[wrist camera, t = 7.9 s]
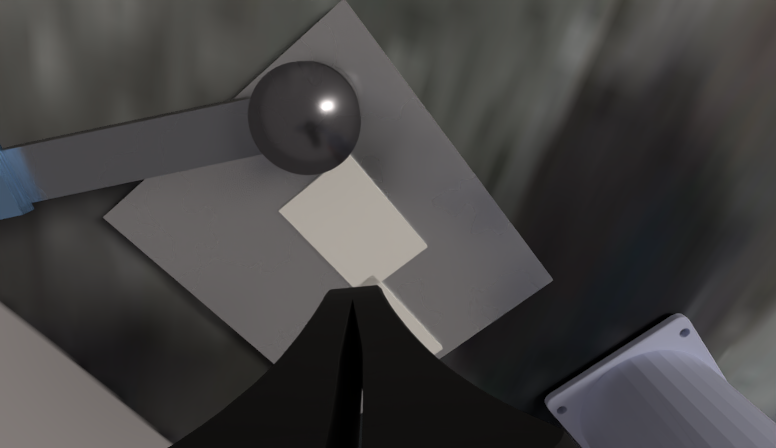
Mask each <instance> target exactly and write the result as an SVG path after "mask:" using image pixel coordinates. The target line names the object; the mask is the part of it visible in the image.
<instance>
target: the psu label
mask: <svg viewBox="0 0 776 448" xmlns="http://www.w3.org/2000/svg"><path fill="white" fill-rule="evenodd" d="M279 212H280V213H281V214H282V215H283V216H284V217H285V218H286V219H287V220H288V221H289V222H290V223H291V224H292V225H293V226H294V227H295V228H296V229H297V230H298V231H299V232H300V234H301V235H302V236H303V237H304V238H305V239H306V240H307V241H308V242H309V243H310V244H311V245H312V246H313V247H314V248H315V249H316V250H317V251H318V252H319V253H320V254H321V255H322V256H323V257H324V258H325V259H326V260H327V261H328V262H329V263H330V264H331V265H332V266H333V267H334V268H335V269H336V270H337V271H338V272H339V273H340V274H341V275H342V277H343V278H344V279H345V280H346V281H347V282H348V283H349V284H350V285H351V286H352V287H357V286H358V285H359V284H361V283H362V282H363V281H365V280H366V279H367V278H369V279H367V280H368V281H369V280H371V279H372V278H371V275H374V276H375V278H376V279H377V280H378V281H379V282H382V281H383V280H384V279H386V278H387V277H388V276H390V275H391V274H392V273H394V272H395V271H396V270H398V269H399V268H400V267H402V266H403V265H404V264H406V263H407V262H408V261H410V260H411V259H412V258H414V257H415V256H416V255H418V254H419V253H420V252H422V251H423V250H424V249H426V248H427V245H426V243H425V242H424V241H423V240H422V239H421V238H420V236H419V235H418V234H417V233H416V232H415V231H414V229H413V228H412V227H411V226H410V225H409V223H408V222H407V221H406V220H405V219H404V218H403V216H402V215H401V214H400V213H399V212H398V211H397V209H396V208H395V207H394V206H393V205H392V203H391V202H390V201H389V200H388V199H387V198H386V196H385V195H384V194H383V193H382V192H381V191H380V189H379V188H378V187H377V186H376V185H375V184H374V182H373V181H372V180H371V179H370V178H369V176H368V175H367V174H366V173H365V172H364V171H363V169H362V168H361V167H360V166H359V165H358V164H357V162H356V161H355V160H354V159H353V158H352V157H351V155H349V156H348V158H347V159H346V160H345V161H344V162H342V163H341V164H340V165H339V166H337V167H335V168H334V169H332V170H330V171H327V172H325V173H322V174H321V175H320V176H319V177H317V178H316V179H315V180H314V181H313V182H311V183H310V184H309V185H308V186H307V187H305V188H304V189H303V190H302V191H301V192H299V193H298V194H297V195H296V196H295V197H293V198H292V199H291V200H290V201H289V202H287V203H286V204H285V205H284V206H282V207H281V208H280V209H279ZM370 278H371V279H370ZM371 282H372V281H369V282H367V283H369V285H370V286H371V285H372V283H371ZM369 285H368V286H369Z"/></svg>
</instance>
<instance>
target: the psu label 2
mask: <svg viewBox="0 0 776 448" xmlns="http://www.w3.org/2000/svg"><path fill="white" fill-rule="evenodd" d="M371 278H372V279H371ZM371 278H370V279H371V280H369V281H372V282H371V283H372V285H378V286H379V287H380V288H382V291H383V293H384V295H385V297H386V299H387V300H388V302H389V303H390V305H391V306H392V308H393V309H394V311H395V312H396V313H397V315H398V316H399V317H400V319H401V320H402V321H403V322H404V324H405V325H406V326H407V327H408V328H409V330H410V331H411V332H412V333H413V334H414V335H415V336H416V337H417V338H418V339H419V341H420V342H421V343H422V344H423V345H424V346H425V347H426V348H427V349H428V350H429V351H431V352H432V353H433V354H434V355H435V354H436V353H438V352H439V351H440V350H442V349H443V348H442V346H441V345H440V344H439V343H438V342H437V341H436V339H435V338H434V337H433V336H432V335H431V334H430V333H429V332H428V331H427V330H426V329H425V328H424V327H423V326H422V325H421V323H420V322H419V321H418V320H417V319H416V318H415V317H414V316H413V315H412V314H411V313H410V312H409V311H408V310H407V309H406V308H405V306H404V305H403V304H402V303H401V302H400V301H399V300H398V299H397V298H396V297H395V296H394V295H393V294H392V293H391V292H390V290H389V289H388V288H387V287H386V286H385V285H384V284H383V283H382V282H379V281H378V280H377V279H376V278H375V276H374V275H371ZM367 279H369V278H367ZM367 279H366V280H365V281H363V282H362V283H361V284H359V285H358V286H357V287H361V286H368V285H369V283H367V282H369V281H368V280H367ZM372 285H371V286H372ZM369 286H370V285H369Z"/></svg>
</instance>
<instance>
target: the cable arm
mask: <svg viewBox="0 0 776 448" xmlns="http://www.w3.org/2000/svg"><path fill="white" fill-rule="evenodd" d="M360 128H361V114H360V108H359V102H358V96H357V93H356V90H355V88H354V86H353V84H352V82H351V81H350V79H349V78H348V77H347V76H346V75H345V73H344V72H342V71H341V70H340V69H338V68H337V67H335V66H333V65H331V64H329V63H326V62H322V61H295V62H289V63H285V64H282V65H280V66H278V67H275V68H274V69H272V70H271V71H269V72H268V73H267V74H266V75H264V76H263V77H262V79H261V80H260V81H259V82H258V84H257V85H256V87H255V88H254V90H253V92H252V95H251V96H247V97H242V98H237V99H233V100H228V101H223V102H218V103H214V104H209V105H204V106H199V107H194V108H190V109H185V110H180V111H175V112H171V113H166V114H161V115H156V116H152V117H147V118H142V119H137V120H132V121H128V122H123V123H118V124H113V125H109V126H104V127H99V128H94V129H89V130H85V131H80V132H75V133H70V134H66V135H61V136H56V137H51V138H46V139H42V140H37V141H32V142H27V143H23V144H18V145H14V146H10V147H6V148H2V147H1V145H0V219H5V218H10V217H15V216H19V215H23V214H25V213H28V212H30V211H32V210H34V207H33V205H32V203H33V202H38V201H43V200H48V199H52V198H57V197H62V196H67V195H71V194H76V193H81V192H86V191H90V190H95V189H100V188H105V187H109V186H114V185H119V184H124V183H129V182H133V181H138V180H143V179H148V178H152V177H157V176H162V175H167V174H171V173H176V172H181V171H186V170H190V169H195V168H200V167H205V166H209V165H214V164H219V163H224V162H229V161H233V160H238V159H243V158H248V157H252V156H257V155H262V154H263V155H264V156H265V157H266V158H267V159H268V160H269V161H270V162H271V163H273V164H274V165H276V166H277V167H279V168H281V169H283V170H285V171H288V172H290V173H294V174H299V175H316V174H321V173H325V172H327V171H330V170H332V169H334V168H335V167H337V166H339V165H340V164H341V163H342V162H344V161H345V160H346V159H347V158H348V156H349V155H350V154H351V152H352V151H353V149H354V147H355V146H356V143H357V141H358V138H359V134H360Z"/></svg>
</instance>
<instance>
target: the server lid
mask: <svg viewBox="0 0 776 448" xmlns="http://www.w3.org/2000/svg"><path fill="white" fill-rule="evenodd" d="M295 61H322V62H326V63H329V64H331V65H333V66H335V67H337V68H338V69H340V70H341V71H342V72H344V73H345V75H346V76H347V77H348V78H349V79H350V81H351V82H352V84H353V86H354V88H355V90H356V93H357V96H358V102H359V108H360V114H361V128H360V134H359V138H358V141H357V143H356V146H355V147H354V149H353V151H352V152H351V154H350V155H351V157H352V158H353V159H354V160H355V161H356V162H357V164H358V165H359V166H360V167H361V168H362V169H363V171H364V172H365V173H366V174H367V175H368V176H369V178H370V179H371V180H372V181H373V182H374V184H375V185H376V186H377V187H378V188H379V189H380V191H381V192H382V193H383V194H384V195H385V196H386V198H387V199H388V200H389V201H390V202H391V203H392V205H393V206H394V207H395V208H396V209H397V211H398V212H399V213H400V214H401V215H402V216H403V218H404V219H405V220H406V221H407V222H408V223H409V225H410V226H411V227H412V228H413V229H414V231H415V232H416V233H417V234H418V235H419V236H420V238H421V239H422V240H423V241H424V242H425V243H426V245H427V248H426V249H424V250H423V251H422V252H420V253H419V254H418V255H416V256H415V257H414V258H412V259H411V260H410V261H408V262H407V263H406V264H404V265H403V266H402V267H400V268H399V269H398V270H396V271H395V272H394V273H392V274H391V275H390V276H388V277H387V278H386V279H384V280H383V281H382V283H383V284H384V285H385V286H386V287H387V288H388V289H389V290H390V292H391V293H392V294H393V295H394V296H395V297H396V298H397V299H398V300H399V301H400V302H401V303H402V304H403V305H404V306H405V308H406V309H407V310H408V311H409V312H410V313H411V314H412V315H413V316H414V317H415V318H416V319H417V320H418V321H419V322H420V323H421V325H422V326H423V327H424V328H425V329H426V330H427V331H428V332H429V333H430V334H431V335H432V336H433V337H434V338H435V339H436V341H437V342H438V343H439V344H440V345H441V346H442V348H443V349H442V350H440V351H439V352H438V353H436V354H435V356H436V357H437V358H438V359H440V358H441V357H443V356H444V355H446V354H447V353H449V352H450V351H452V350H453V349H454V348H456V347H457V346H459V345H460V344H462V343H463V342H465V341H466V340H467V339H469V338H470V337H472V336H473V335H475V334H476V333H478V332H479V331H480V330H482V329H483V328H485V327H486V326H488V325H489V324H491V323H492V322H493V321H495V320H496V319H498V318H499V317H501V316H502V315H504V314H505V313H506V312H508V311H509V310H511V309H512V308H514V307H515V306H517V305H518V304H519V303H521V302H522V301H524V300H525V299H527V298H528V297H530V296H531V295H532V294H534V293H535V292H537V291H538V290H540V289H541V288H543V287H544V286H545V285H547V284H548V283H550V282H551V281H553V279H552V278H551V276H550V275H549V274H548V272H547V271H546V270H545V268H544V267H543V266H542V264H541V263H540V262H539V260H538V259H537V258H536V256H535V255H534V254H533V252H532V251H531V249H530V248H529V247H528V245H527V244H526V243H525V241H524V240H523V239H522V237H521V236H520V235H519V233H518V232H517V231H516V229H515V228H514V227H513V225H512V224H511V223H510V221H509V220H508V219H507V217H506V216H505V214H504V213H503V212H502V210H501V209H500V208H499V206H498V205H497V204H496V202H495V201H494V200H493V198H492V197H491V196H490V194H489V193H488V192H487V190H486V189H485V188H484V186H483V185H482V184H481V182H480V181H479V179H478V178H477V177H476V175H475V174H474V173H473V171H472V170H471V169H470V167H469V166H468V165H467V163H466V162H465V161H464V159H463V158H462V157H461V155H460V154H459V153H458V151H457V150H456V149H455V147H454V146H453V144H452V143H451V142H450V140H449V139H448V138H447V136H446V135H445V134H444V132H443V131H442V130H441V128H440V127H439V126H438V124H437V123H436V122H435V120H434V119H433V118H432V116H431V115H430V114H429V112H428V111H427V109H426V108H425V107H424V105H423V104H422V103H421V101H420V100H419V99H418V97H417V96H416V95H415V93H414V92H413V91H412V89H411V88H410V87H409V85H408V84H407V83H406V81H405V80H404V79H403V77H402V76H401V74H400V73H399V72H398V70H397V69H396V68H395V66H394V65H393V64H392V62H391V61H390V60H389V58H388V57H387V56H386V54H385V53H384V52H383V50H382V49H381V48H380V46H379V45H378V44H377V42H376V41H375V39H374V38H373V37H372V35H371V34H370V33H369V31H368V30H367V29H366V27H365V26H364V25H363V23H362V22H361V21H360V19H359V18H358V17H357V15H356V14H355V13H354V11H353V10H352V9H351V7H350V6H349V4H348V3H347V2H346V0H342V1H341V2H339V3H338V4H337V5H336V6H335V7H334V8H333V9H332V10H331V11H330V12H328V13H327V14H326V15H325V16H324V17H323V18H322V19H321V20H320V21H319V22H317V23H316V24H315V25H314V26H313V27H312V28H311V29H310V30H309V31H308V32H306V33H305V34H304V35H303V36H302V37H301V38H300V39H299V40H298V41H297V42H295V43H294V44H293V45H292V46H291V47H290V48H289V49H288V50H287V51H286V52H284V53H283V54H282V55H281V56H280V57H279V58H278V59H277V60H276V61H275V62H273V63H272V64H271V65H270V66H269V67H268V68H267V69H266V70H265V71H264V72H262V73H261V74H260V75H259V76H258V77H257V78H256V79H255V80H254V81H253V82H251V83H250V84H249V85H248V86H247V87H246V88H245V89H244V90H243V91H241V92H240V93H239V94H238V95H237V96H236V97H235V98H234V99H237V98H242V97H247V96H251V95H252V92H253V90H254V88H255V87H256V85H257V84H258V82H259V81H260V80H261V79H262V77H263V76H264V75H266V74H267V73H268V72H269V71H271V70H272V69H274V68H275V67H278V66H280V65H282V64H285V63H289V62H295ZM321 174H322V173H321ZM321 174H316V175H299V174H294V173H290V172H288V171H285V170H283V169H281V168H279V167H277V166H276V165H274V164H273V163H271V162H270V161H269V160H268V159H267V158H266V157H265V156H264V155H263V154H262V155H257V156H252V157H248V158H243V159H238V160H233V161H229V162H224V163H219V164H214V165H209V166H205V167H200V168H195V169H190V170H186V171H181V172H176V173H171V174H167V175H162V176H157V177H152V178H148V179H145V180H144V181H142V182H141V183H140V184H139V185H138V186H137V187H136V188H135V189H134V190H133V191H131V192H130V193H129V194H128V195H127V196H126V197H125V198H124V199H123V200H121V201H120V202H119V203H118V204H117V205H116V206H115V207H114V208H113V209H112V210H110V211H109V212H108V213H107V214H106V215H105V216H104V217H103V218H104V219H105V220H106V221H108V222H109V223H110V224H111V225H112V226H113V227H115V228H116V229H117V230H118V231H119V232H120V233H122V234H123V235H124V236H125V237H126V238H127V239H129V240H130V241H131V242H132V243H133V244H134V245H136V246H137V247H138V248H139V249H140V250H141V251H143V252H144V253H145V254H146V255H147V256H148V257H150V258H151V259H152V260H153V261H154V262H155V263H157V264H158V265H159V266H160V267H161V268H162V269H164V270H165V271H166V272H167V273H168V274H169V275H171V276H172V277H173V278H174V279H175V280H176V281H178V282H179V283H180V284H181V285H182V286H183V287H185V288H186V289H187V290H188V291H189V292H191V293H192V294H193V295H194V296H195V297H196V298H198V299H199V300H200V301H201V302H202V303H203V304H205V305H206V306H207V307H208V308H209V309H210V310H212V311H213V312H214V313H215V314H216V315H217V316H219V317H220V318H221V319H222V320H223V321H224V322H226V323H227V324H228V325H229V326H230V327H231V328H233V329H234V330H235V331H236V332H237V333H238V334H240V335H241V336H242V337H243V338H244V339H245V340H247V341H248V342H249V343H250V344H251V345H252V346H254V347H255V348H256V349H257V350H258V351H259V352H261V353H262V354H263V355H264V356H265V357H266V358H268V359H269V360H270V361H271V362H272V363H273V364H275V363H276V361H277V360H278V359H279V358H280V357H281V356H282V355H283V353H284V352H285V351H286V350H287V349H288V347H289V346H290V345H291V344H292V343H293V341H294V340H295V339H296V338H297V336H298V335H299V334H300V332H301V331H302V330H303V328H304V327H305V325H306V324H307V323H308V321H309V320H310V319H311V317H312V316H313V314H314V313H315V311H316V309H317V308H318V306H319V305H320V303H321V301H322V300H323V298H324V296H325V295H326V293H327V292H328V291H329V290H330V289H340V288H351V287H352V286H351V285H350V284H349V283H348V282H347V281H346V280H345V279H344V278H343V277H342V275H341V274H340V273H339V272H338V271H337V270H336V269H335V268H334V267H333V266H332V265H331V264H330V263H329V262H328V261H327V260H326V259H325V258H324V257H323V256H322V255H321V254H320V253H319V252H318V251H317V250H316V249H315V248H314V247H313V246H312V245H311V244H310V243H309V242H308V241H307V240H306V239H305V238H304V237H303V236H302V235H301V234H300V232H299V231H298V230H297V229H296V228H295V227H294V226H293V225H292V224H291V223H290V222H289V221H288V220H287V219H286V218H285V217H284V216H283V215H282V214H281V213H280V212H279V209H280V208H281V207H282V206H284V205H285V204H286V203H287V202H289V201H290V200H291V199H292V198H293V197H295V196H296V195H297V194H298V193H299V192H301V191H302V190H303V189H304V188H305V187H307V186H308V185H309V184H310V183H311V182H313V181H314V180H315V179H316V178H317V177H319V176H320V175H321ZM362 412H363V390H362V400H361V413H362Z"/></svg>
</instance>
